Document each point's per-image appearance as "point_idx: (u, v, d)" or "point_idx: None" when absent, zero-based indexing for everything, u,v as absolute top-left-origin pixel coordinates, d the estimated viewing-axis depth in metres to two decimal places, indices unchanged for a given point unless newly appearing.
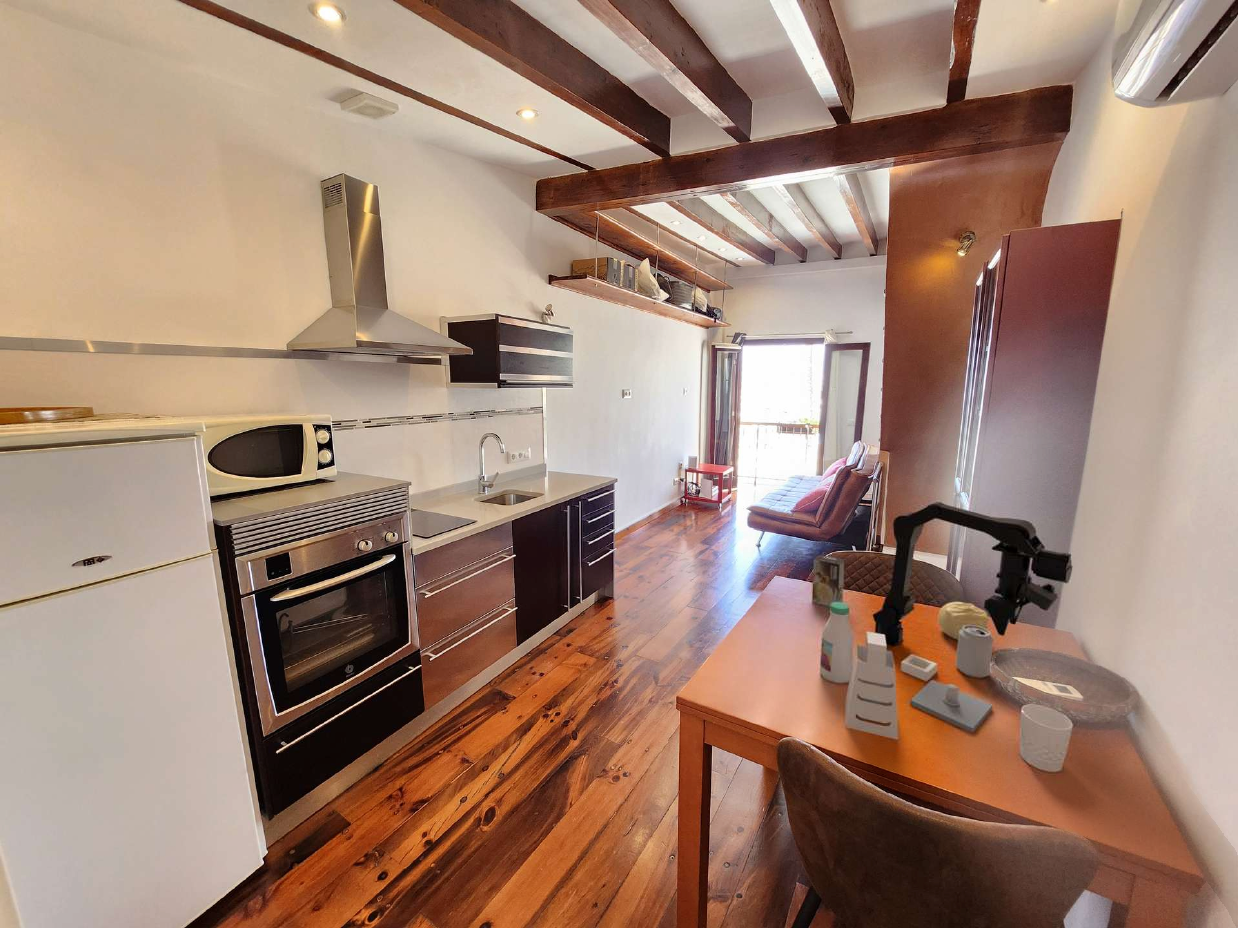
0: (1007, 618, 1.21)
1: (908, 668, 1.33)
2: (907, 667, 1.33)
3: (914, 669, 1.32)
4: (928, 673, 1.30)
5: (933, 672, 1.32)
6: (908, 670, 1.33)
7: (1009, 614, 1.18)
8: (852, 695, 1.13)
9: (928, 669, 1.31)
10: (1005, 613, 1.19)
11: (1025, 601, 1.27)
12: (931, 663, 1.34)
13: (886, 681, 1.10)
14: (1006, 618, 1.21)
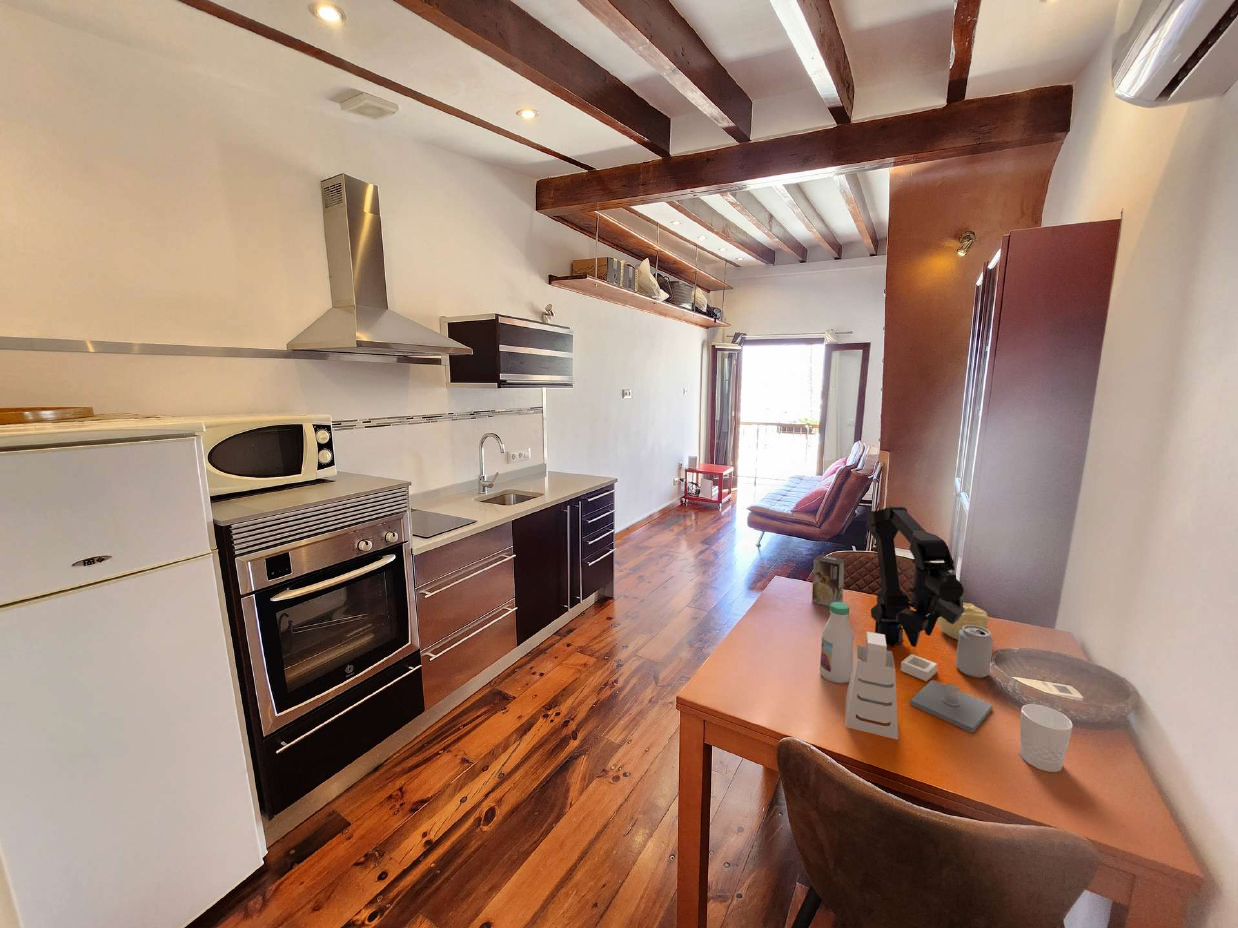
0: (917, 631, 1.27)
1: (908, 668, 1.33)
2: (907, 667, 1.33)
3: (914, 669, 1.32)
4: (928, 673, 1.30)
5: (933, 672, 1.32)
6: (908, 670, 1.33)
7: (917, 627, 1.25)
8: (852, 695, 1.13)
9: (928, 669, 1.31)
10: (914, 626, 1.25)
11: None
12: (931, 663, 1.34)
13: (886, 681, 1.10)
14: (916, 630, 1.28)
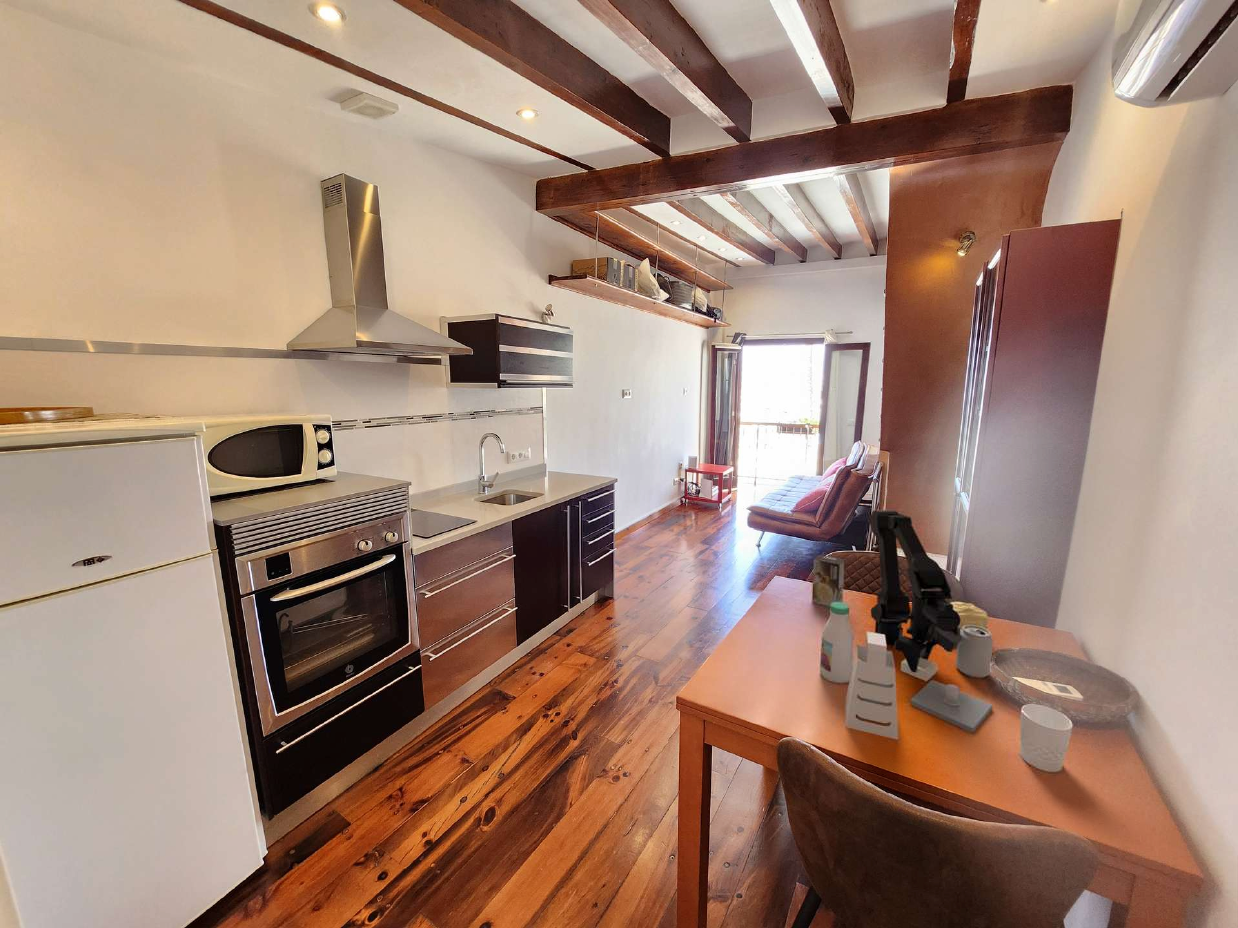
0: None
1: (908, 668, 1.33)
2: (907, 667, 1.33)
3: None
4: (928, 673, 1.30)
5: (933, 672, 1.32)
6: (908, 670, 1.33)
7: (915, 655, 1.26)
8: (852, 695, 1.13)
9: (928, 669, 1.31)
10: (911, 654, 1.26)
11: (934, 642, 1.34)
12: (931, 663, 1.34)
13: (886, 681, 1.10)
14: None
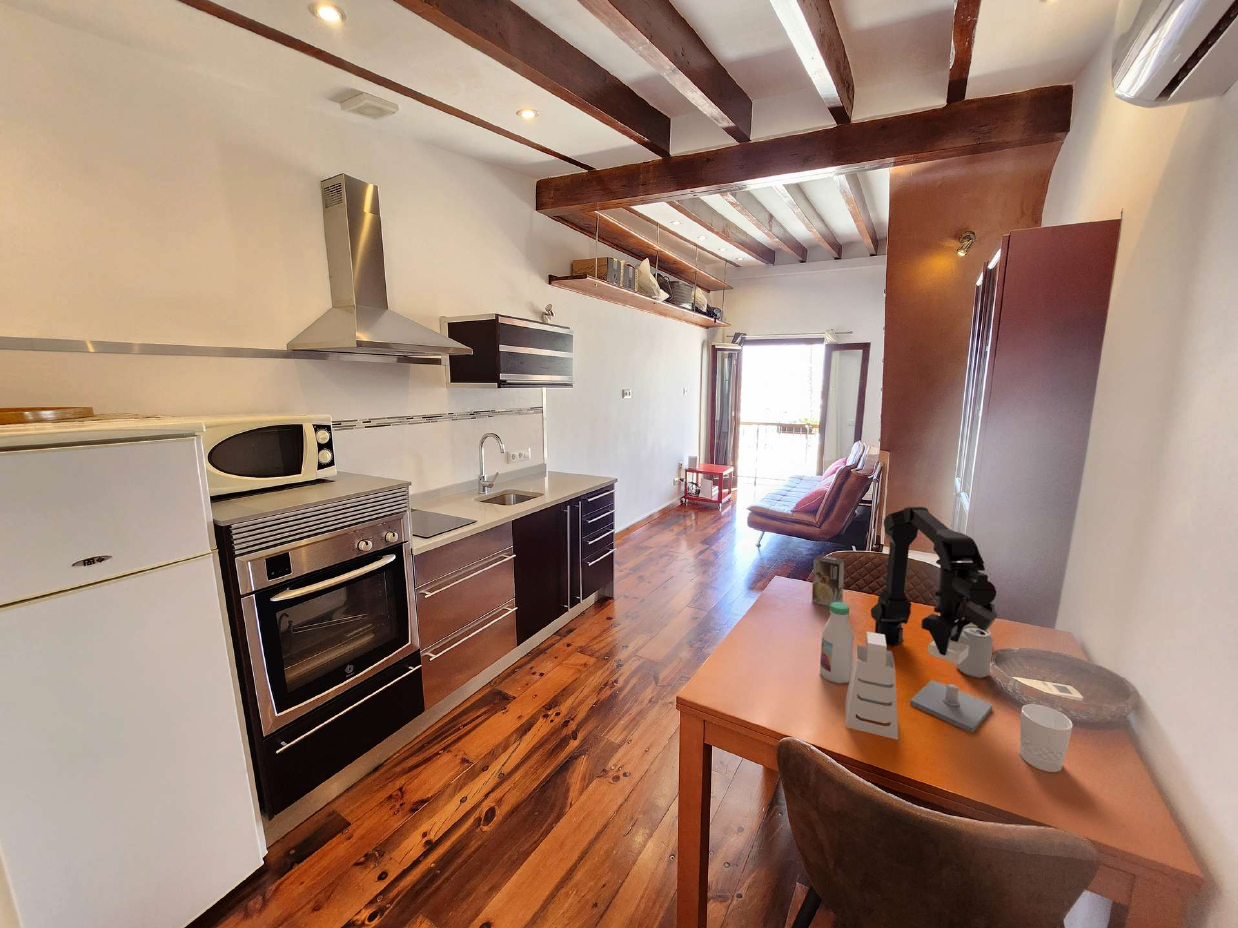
0: (947, 637, 1.16)
1: (937, 650, 1.20)
2: (935, 650, 1.20)
3: None
4: (960, 655, 1.17)
5: (965, 655, 1.19)
6: (936, 653, 1.20)
7: (945, 634, 1.12)
8: (852, 695, 1.13)
9: (959, 651, 1.18)
10: (941, 633, 1.13)
11: (965, 622, 1.21)
12: (962, 645, 1.20)
13: (886, 681, 1.10)
14: (946, 637, 1.16)
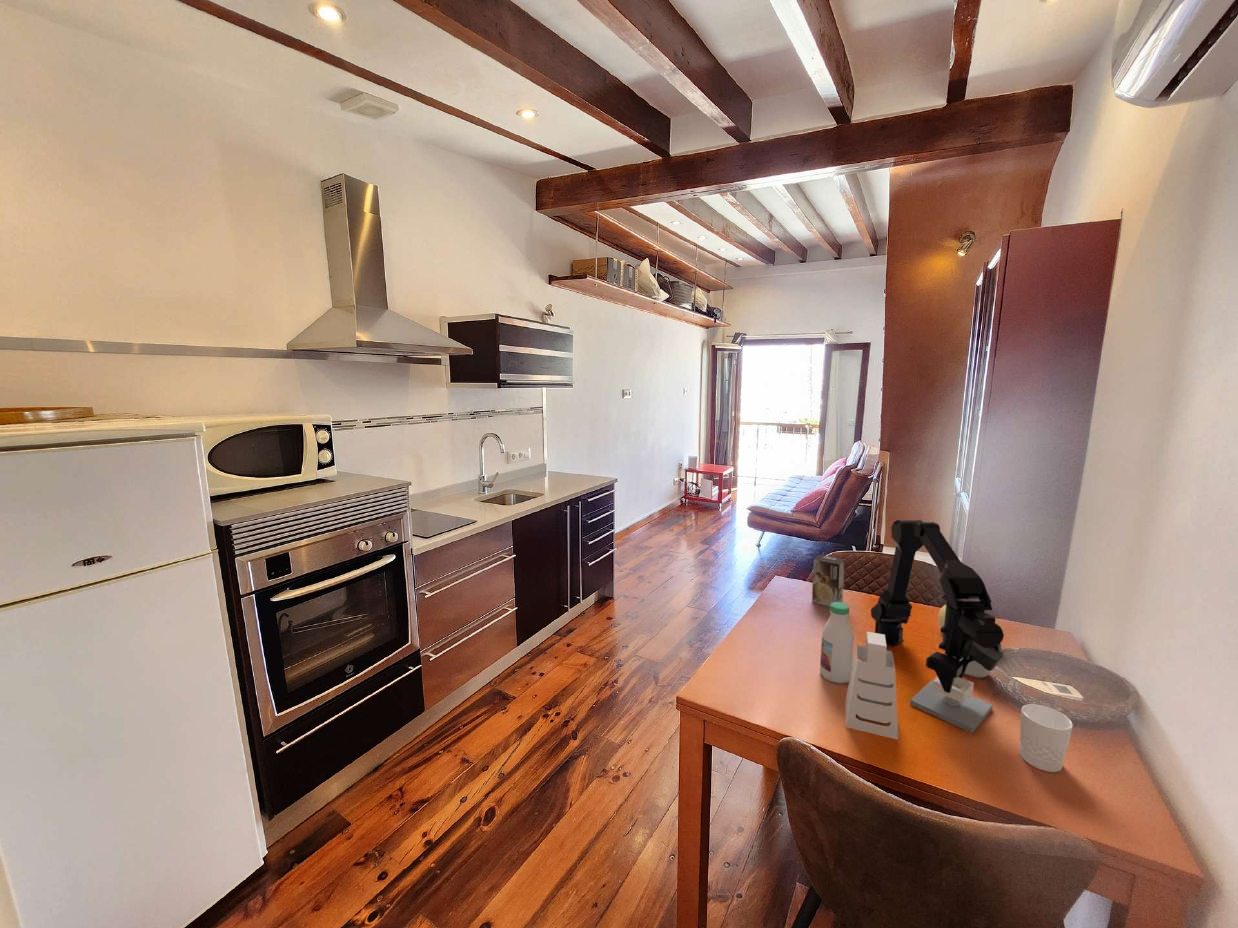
0: None
1: (941, 687, 1.18)
2: (940, 686, 1.18)
3: None
4: (964, 694, 1.15)
5: (969, 692, 1.17)
6: (940, 690, 1.18)
7: (950, 675, 1.10)
8: (852, 695, 1.13)
9: (964, 689, 1.16)
10: (946, 673, 1.11)
11: (970, 658, 1.19)
12: (967, 682, 1.18)
13: (886, 681, 1.10)
14: None
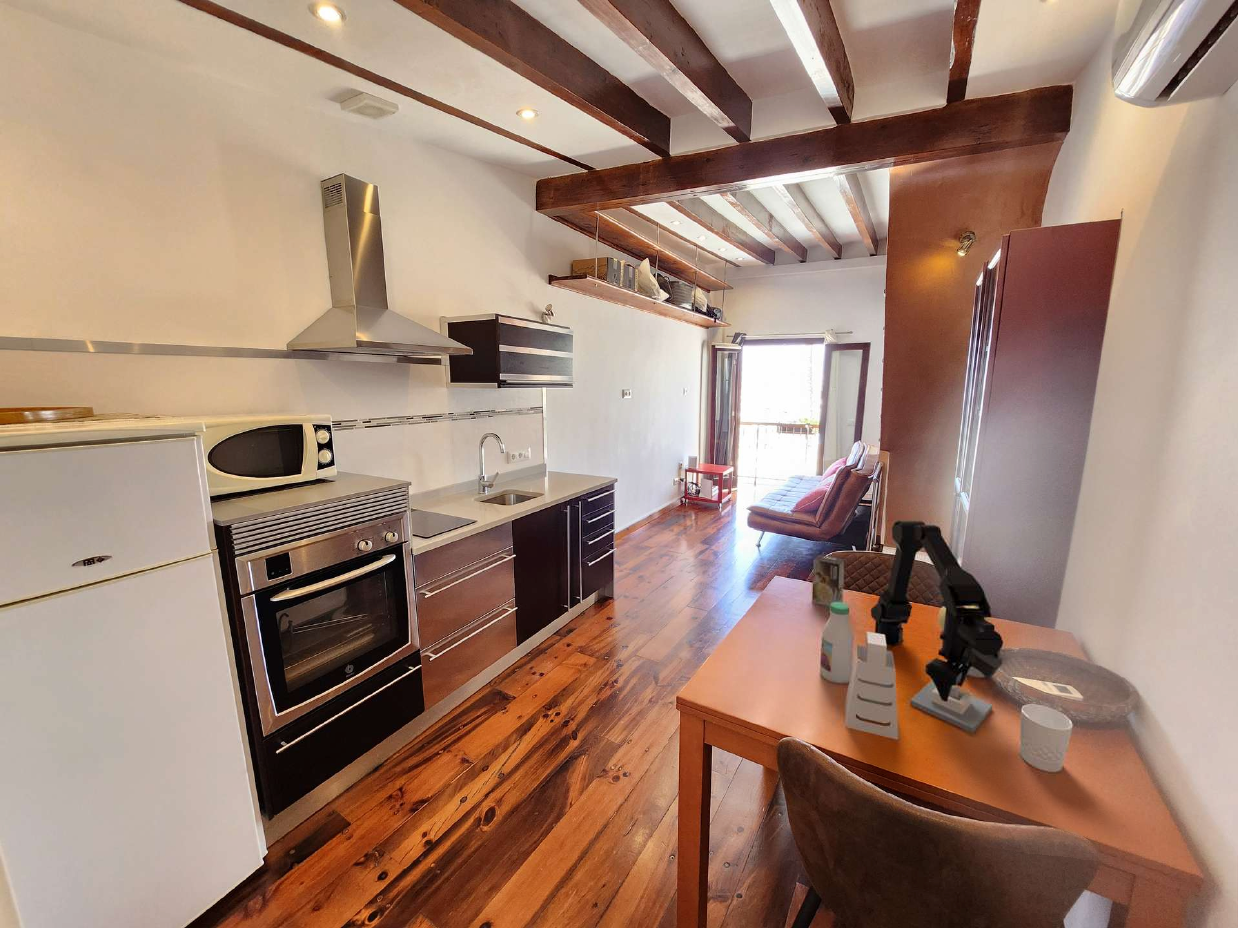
0: (949, 684, 1.13)
1: (940, 698, 1.19)
2: (939, 697, 1.19)
3: None
4: (963, 705, 1.15)
5: (968, 703, 1.18)
6: (939, 701, 1.19)
7: (950, 682, 1.11)
8: (852, 695, 1.13)
9: (963, 700, 1.16)
10: (946, 680, 1.11)
11: None
12: (966, 693, 1.19)
13: (886, 681, 1.10)
14: (948, 684, 1.14)
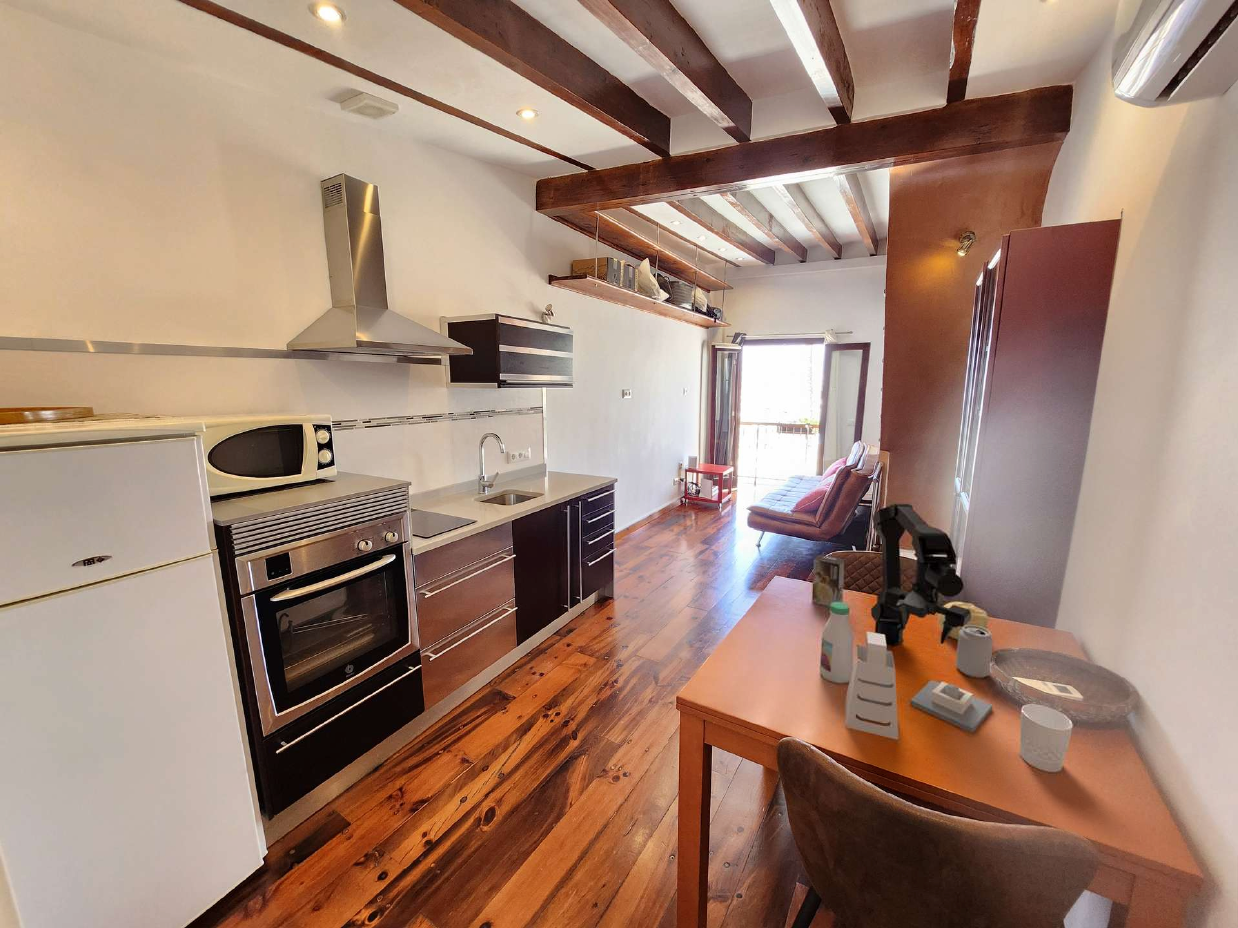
0: None
1: (940, 698, 1.19)
2: (939, 697, 1.19)
3: (947, 700, 1.17)
4: (963, 705, 1.15)
5: (968, 703, 1.18)
6: (939, 701, 1.19)
7: None
8: (852, 695, 1.13)
9: (963, 700, 1.16)
10: None
11: (944, 622, 1.24)
12: (966, 693, 1.19)
13: (886, 681, 1.10)
14: None
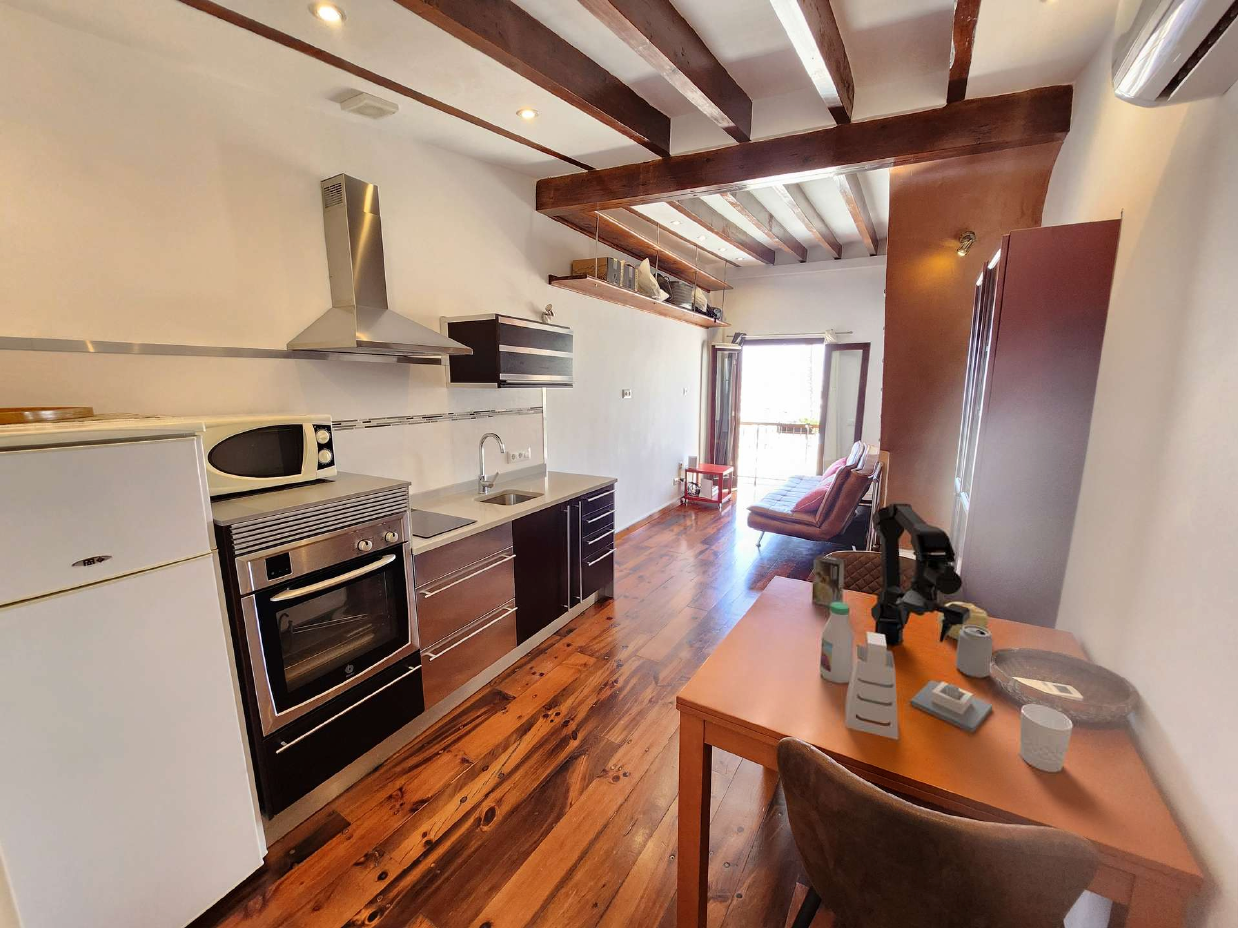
0: None
1: (940, 698, 1.19)
2: (939, 697, 1.19)
3: (947, 700, 1.17)
4: (963, 705, 1.15)
5: (968, 703, 1.18)
6: (939, 701, 1.19)
7: None
8: (852, 695, 1.13)
9: (963, 700, 1.16)
10: None
11: (943, 620, 1.24)
12: (966, 693, 1.19)
13: (886, 681, 1.10)
14: None
